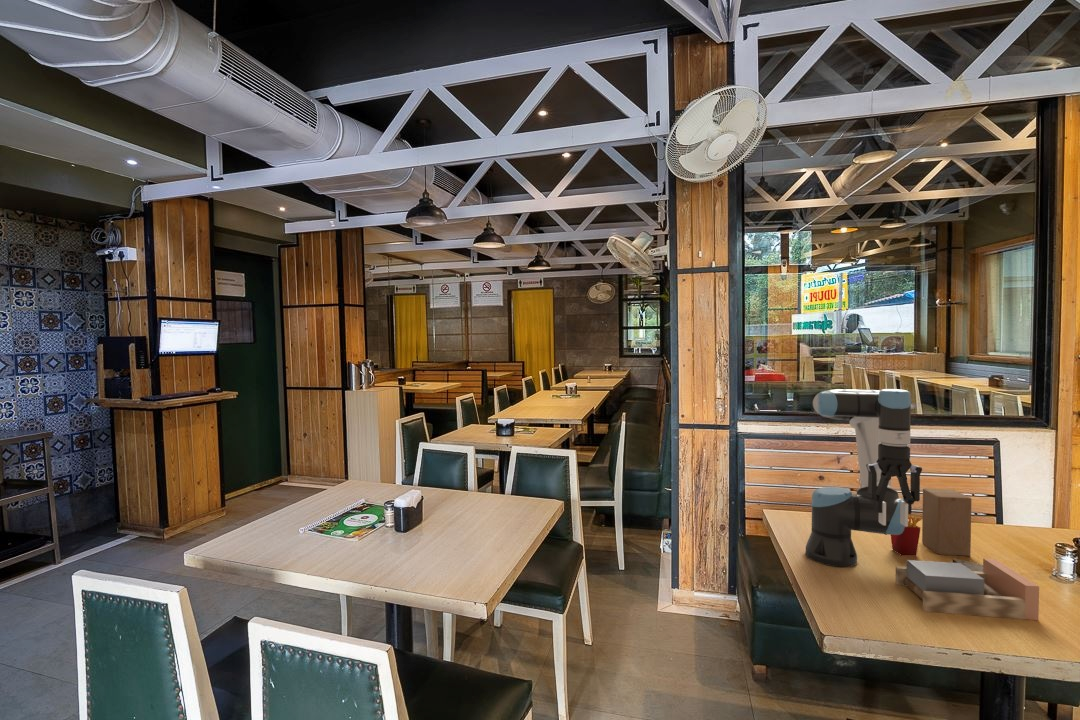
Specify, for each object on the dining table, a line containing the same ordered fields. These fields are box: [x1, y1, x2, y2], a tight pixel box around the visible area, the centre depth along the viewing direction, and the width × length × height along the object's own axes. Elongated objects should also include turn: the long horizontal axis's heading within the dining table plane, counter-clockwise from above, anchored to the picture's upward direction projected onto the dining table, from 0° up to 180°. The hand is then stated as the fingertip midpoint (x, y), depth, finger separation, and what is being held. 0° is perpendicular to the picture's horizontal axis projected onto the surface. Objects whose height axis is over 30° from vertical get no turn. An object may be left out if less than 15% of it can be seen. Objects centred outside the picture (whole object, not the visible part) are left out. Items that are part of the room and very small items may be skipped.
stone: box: [951, 558, 983, 572], centre depth 155 cm, size 15×8×3 cm, turn 46°
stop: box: [982, 558, 1040, 621], centre depth 139 cm, size 3×16×9 cm, turn 169°
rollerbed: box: [894, 565, 1026, 620], centre depth 142 cm, size 23×16×5 cm
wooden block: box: [921, 488, 972, 557], centre depth 174 cm, size 10×10×20 cm
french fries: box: [890, 514, 922, 557], centre depth 174 cm, size 9×8×15 cm
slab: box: [906, 559, 984, 595], centre depth 142 cm, size 14×10×5 cm
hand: (893, 524), depth 144 cm, fingers open, 5 cm apart
